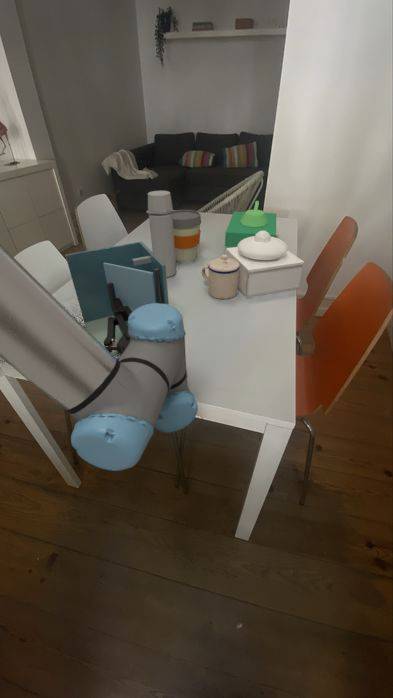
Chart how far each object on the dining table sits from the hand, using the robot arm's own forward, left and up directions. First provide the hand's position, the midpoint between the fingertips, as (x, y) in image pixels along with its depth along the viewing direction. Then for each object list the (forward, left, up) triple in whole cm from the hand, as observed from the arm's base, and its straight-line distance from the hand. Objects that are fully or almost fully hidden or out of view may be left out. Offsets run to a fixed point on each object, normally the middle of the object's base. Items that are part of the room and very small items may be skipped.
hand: (117, 303), depth 76 cm
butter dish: (+47, +7, -8) cm, 48 cm away
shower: (+1, -1, -8) cm, 8 cm away
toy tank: (+65, +40, -8) cm, 77 cm away
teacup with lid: (+32, +7, -8) cm, 34 cm away
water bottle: (+22, +27, -8) cm, 36 cm away
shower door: (+3, -3, -7) cm, 8 cm away
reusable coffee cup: (+34, +37, -8) cm, 51 cm away
